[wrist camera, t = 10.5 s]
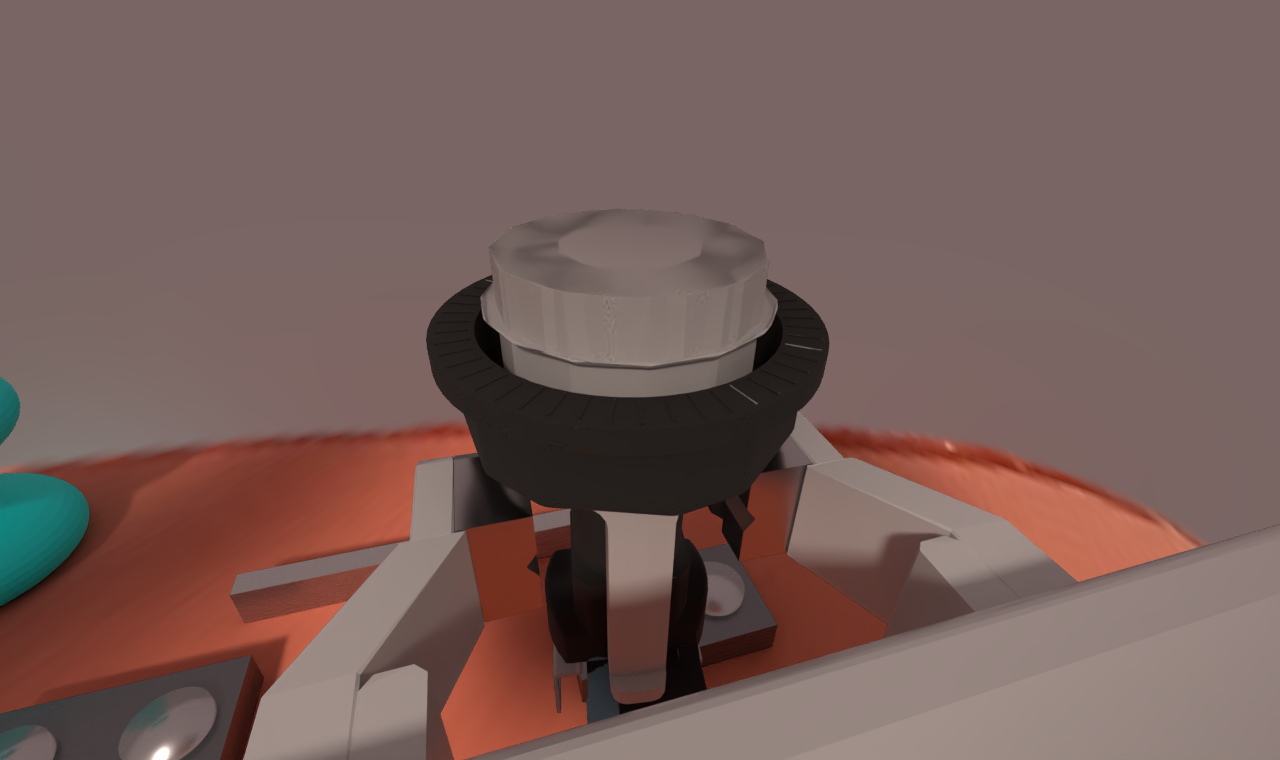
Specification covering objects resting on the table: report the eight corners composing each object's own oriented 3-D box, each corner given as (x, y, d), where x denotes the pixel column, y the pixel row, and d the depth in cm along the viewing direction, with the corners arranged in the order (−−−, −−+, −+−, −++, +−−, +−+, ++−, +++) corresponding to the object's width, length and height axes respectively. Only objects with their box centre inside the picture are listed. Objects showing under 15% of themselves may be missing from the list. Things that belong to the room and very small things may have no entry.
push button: (810, 902, 9) (1050, 403, 4) (483, 958, 9) (277, 450, 3) (713, 577, 15) (763, 194, 10) (511, 596, 14) (449, 197, 9)
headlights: (-99, 903, 18) (-143, 878, 17) (63, 642, 25) (39, 613, 24) (772, 646, 26) (778, 619, 25) (695, 508, 34) (698, 482, 33)
